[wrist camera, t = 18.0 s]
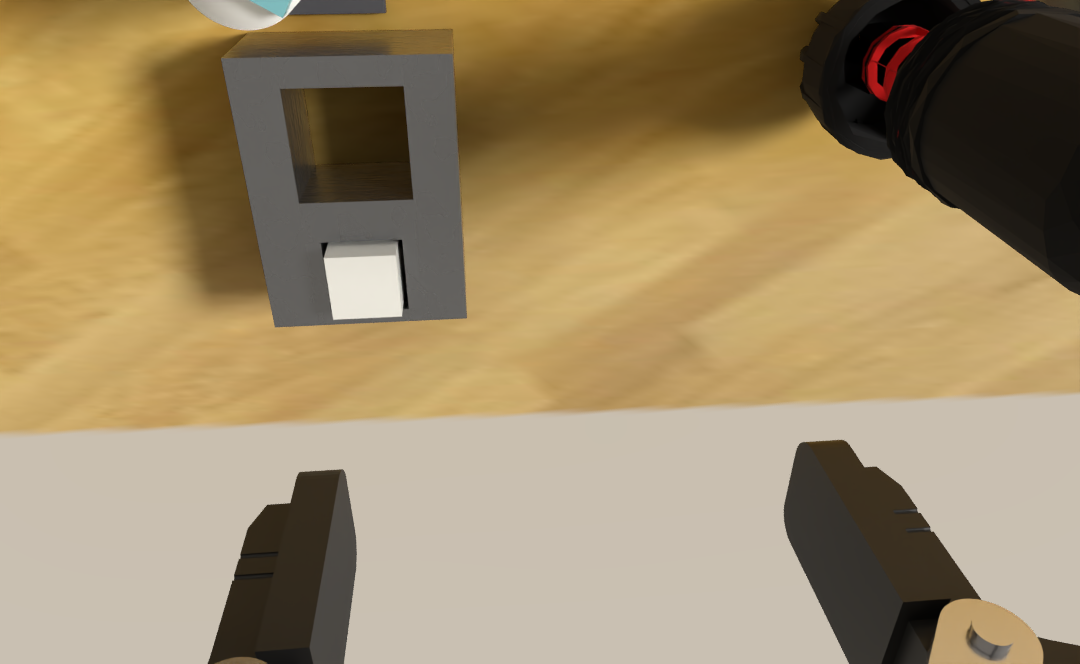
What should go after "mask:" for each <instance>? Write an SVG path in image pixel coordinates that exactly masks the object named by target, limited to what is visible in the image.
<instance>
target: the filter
mask: <svg viewBox="0 0 1080 664" xmlns="http://www.w3.org/2000/svg"><path fill="white" fill-rule="evenodd" d="M815 21H816V22H817V23H818V24H819V26H818V27H817V29H816V30H815V32H814V33H813V36H812V39H811V41H810V44H809V46H805V47H804V48H803V49H802V50H801V54H800V60H801V61H803V62H804V70H803V79H802V82H801V85H800V89H801V93H802V97H803V99H805V100H806V101H807V104H808V105H809V107H810V108H811V110H812V112H813V113H814V115H815V117H816V118H817V120H818V121H819V122H820V124H821V126H822V127H823V128H824V129H825V130H826V131H828V132H829V133H830V134H831V135H832V136H833V137H834V138H835V139H837V140H838V142H839V143H840V144H842V145H844V146H845V147H846V148H848V149H851V150H853V151H854V152H856V153H858V154H862V155H865V156H869V157H873V158H876V159H880V160H882V159H889V158H892V159H893V161H894V162H895V163H896V164H897V165H898V166H899V167H900V168H901V169H902V170H903V171H904V173H905V175H906V176H908V177H910V178H912V179H914V180H915V181H916V182H917V183H918V184H919V185H921V187H923V188H924V189H926V190H928V191H930V192H931V193H932V194H933V195H934V196H935V197H937V198H938V200H939V201H940V202H941V203H943V204H945V205H947V206H949V207H951V208H958V209H961V210H962V211H964V212H965V213H966V214H968V215H969V216H970V217H972V218H973V219H974V220H976V221H977V222H978V223H980V224H981V225H982V226H984V227H985V228H986V229H988V230H989V231H990V232H992V233H993V234H994V235H996V236H997V237H999V238H1000V239H1001V240H1003V241H1004V242H1005V243H1007V244H1008V245H1009V246H1011V247H1012V248H1013V249H1015V250H1016V251H1017V252H1019V253H1020V254H1021V255H1023V256H1024V257H1025V258H1027V259H1028V260H1029V261H1031V262H1032V263H1033V264H1035V265H1036V266H1037V267H1039V268H1040V269H1041V270H1043V271H1044V272H1045V273H1047V274H1048V275H1050V276H1051V277H1052V278H1054V279H1055V280H1056V281H1058V282H1059V283H1060V284H1062V285H1063V286H1064V287H1066V288H1067V289H1068V290H1070V291H1072V292H1074V293H1076V294H1078V295H1080V12H1078V11H1074V10H1069V9H1065V8H1058V7H1050V6H1048V5H1046V4H1045V3H1043V2H1040V1H1033V0H990V1H984V2H981V1H980V0H839V1H838V2H837V3H836V4H835V5H834V6H833V7H832V8H831V9H830V10H829V11H828V12H827V14H826V13H824V12H820V13H819V15H818V16H817V18H816V19H815ZM859 35H860V39H859Z"/></svg>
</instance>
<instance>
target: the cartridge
mask: <svg viewBox="0 0 1080 664" xmlns="http://www.w3.org/2000/svg"><path fill="white" fill-rule="evenodd" d="M299 1H300V0H189V2H190V3H191V4H192V5H193V6H194V7H195V8H196V9H197V10H198V11H200V12H201V13H202V14H204V15H205V16H206V17H208V18H209V19H211V20H213V21H214V22H216V23H219V24H221V25H223V26H226V27H229V28H233V29H238V30H258V29H263V28H267V27H269V26H272V25H274V24H276V23H278V22H279V21H281V20H282V19H283V18H285V17H286V16H287V15H288V14H289V13H290V12H291V11H292V10H293V8H294V7H295V6H296V5H297V4H298V3H299Z"/></svg>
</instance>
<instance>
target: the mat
mask: <svg viewBox="0 0 1080 664" xmlns="http://www.w3.org/2000/svg"><path fill="white" fill-rule="evenodd" d="M357 13H386V2H385V0H300V1H299V3H298V4H297V5H296V6H295V7H294V8H293V10H292V11H291V12H290V13H289V14H288V15H293V14H357Z"/></svg>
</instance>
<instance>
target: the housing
mask: <svg viewBox="0 0 1080 664" xmlns="http://www.w3.org/2000/svg"><path fill="white" fill-rule="evenodd" d="M221 61H222V66H223V71H224V76H225V81H226V86H227V91H228V96H229V101H230V106H231V111H232V116H233V121H234V126H235V131H236V135H237V140H238V145H239V150H240V155H241V160H242V165H243V170H244V175H245V180H246V185H247V190H248V195H249V200H250V205H251V210H252V215H253V220H254V225H255V230H256V235H257V240H258V245H259V250H260V255H261V260H262V265H263V270H264V275H265V280H266V285H267V290H268V295H269V300H270V305H271V310H272V315H273V320H274V325H275V327H291V326H312V325H334V324H355V323H376V322H397V321H418V320H440V319H461V318H467V311H466V282H465V260H464V241H463V222H462V204H461V185H460V166H459V147H458V128H457V110H456V91H455V72H454V53H453V34H452V29H440V30H383V31H325V32H267V33H247V34H246V35H245V36H244V37H243V38H242V39H241V40H240V41H239V42H238V43H237V44H236V45H235V46H234V47H232V48H231V49H230V50H229V51H228V52H227V53H226V54H225V55H224V56H223V57H222V58H221ZM384 86H404V97H405V108H406V120H407V131H408V143H409V154H410V162H388V163H356V164H324V165H315V160H314V153H313V147H312V140H311V134H310V127H309V120H308V114H307V107H306V100H305V94H304V88H341V87H384ZM377 240H402V243H403V254H404V264H405V274H406V282H405V292H404V302H403V312H402V317H380V318H359V319H337V320H333V315H332V309H331V302H330V296H329V289H328V283H327V277H326V270H325V264H324V256H325V252H326V249H327V246H328V242H351V241H377Z"/></svg>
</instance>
